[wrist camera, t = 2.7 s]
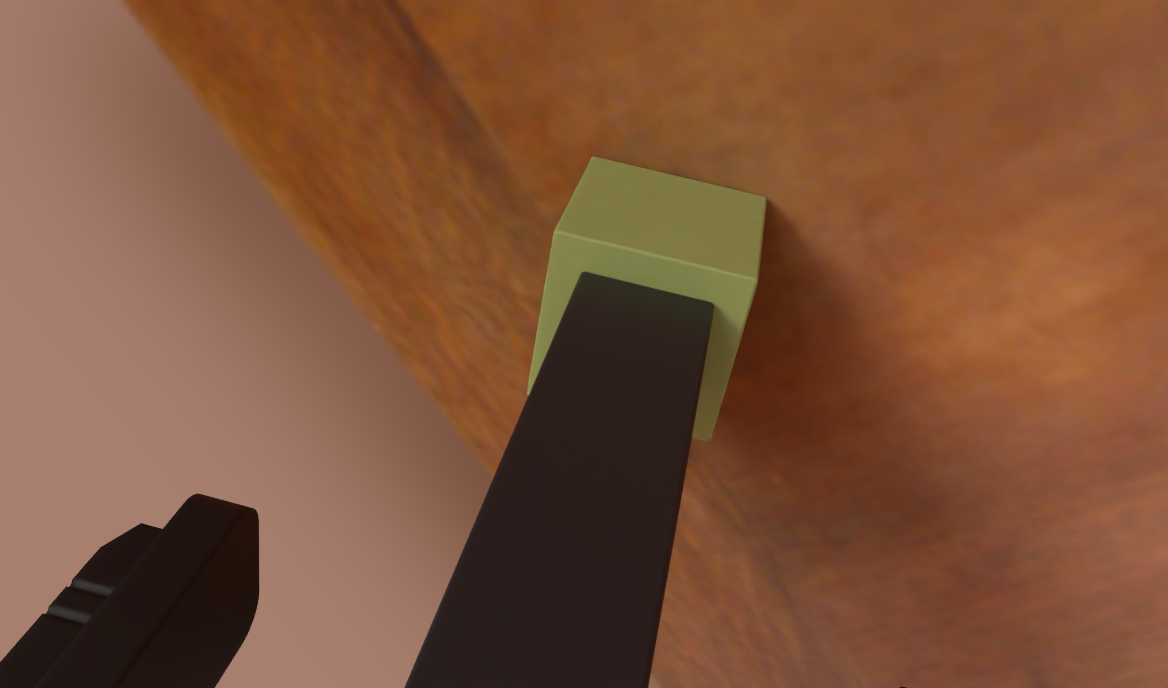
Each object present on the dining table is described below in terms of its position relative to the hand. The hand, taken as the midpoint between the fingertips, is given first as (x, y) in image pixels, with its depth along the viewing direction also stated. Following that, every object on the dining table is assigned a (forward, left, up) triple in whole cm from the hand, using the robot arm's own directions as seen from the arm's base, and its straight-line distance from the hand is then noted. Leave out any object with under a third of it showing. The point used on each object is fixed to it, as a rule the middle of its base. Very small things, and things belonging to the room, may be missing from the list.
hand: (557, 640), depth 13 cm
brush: (0, 0, -11) cm, 11 cm away
